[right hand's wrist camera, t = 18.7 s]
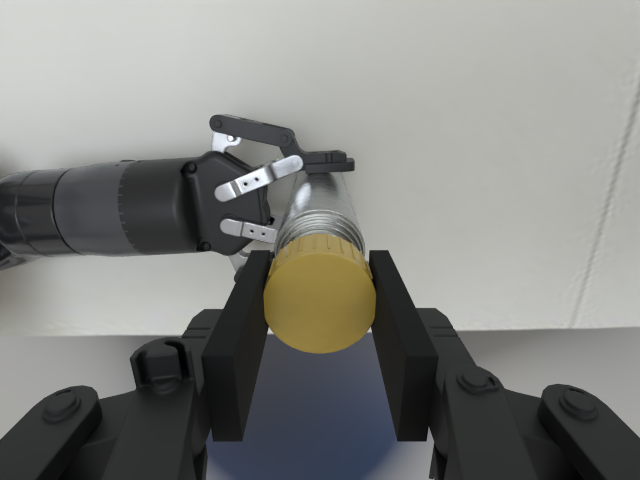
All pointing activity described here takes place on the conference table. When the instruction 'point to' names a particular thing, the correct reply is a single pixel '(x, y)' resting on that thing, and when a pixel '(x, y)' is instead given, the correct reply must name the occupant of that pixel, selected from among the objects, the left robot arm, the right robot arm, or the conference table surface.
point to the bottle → (319, 211)
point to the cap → (319, 294)
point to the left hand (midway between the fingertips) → (353, 196)
